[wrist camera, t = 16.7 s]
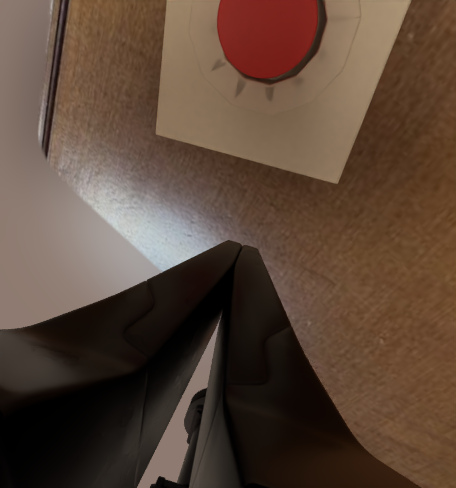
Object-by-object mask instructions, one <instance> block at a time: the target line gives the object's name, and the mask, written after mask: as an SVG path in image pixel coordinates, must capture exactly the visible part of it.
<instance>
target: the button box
mask: <svg viewBox="0 0 456 488" xmlns="http://www.w3.org/2000/svg"><path fill="white" fill-rule="evenodd" d="M410 2H411V0H317V6H318V25H317V31H316V35H315V38H314V41H313V43H312V45H311V48H310V49H309V51H308V53H307V54H306V55H305V57H304V58H303V59H302V60H301V61H300V62H299V63H298V64H297V65H296V66H295V67H294V68H292V69H291V70H290V71H288V72H286V73H284V74H282V75H280V76H277V77H273V78H255V77H252V76H249V75H246V74H244V73H243V72H241V71H240V70H238V69H237V68H236V67H235V66H234V65H233V64H232V63H231V62H230V61H229V60H228V58H227V56H226V55H225V53H224V51H223V49H222V47H221V44H220V41H219V36H218V30H217V15H218V8H219V3H220V0H167V5H166V17H165V28H164V40H163V52H162V63H161V75H160V87H159V99H158V110H157V122H156V135H160V136H163V137H167V138H170V139H174V140H178V141H181V142H185V143H189V144H192V145H196V146H200V147H203V148H207V149H211V150H214V151H218V152H222V153H225V154H229V155H232V156H236V157H240V158H243V159H247V160H251V161H254V162H258V163H262V164H265V165H269V166H273V167H276V168H280V169H283V170H287V171H291V172H294V173H298V174H302V175H305V176H309V177H313V178H316V179H320V180H324V181H327V182H331V183H335V184H337V183H338V182H339V179H340V177H341V174H342V172H343V169H344V167H345V164H346V162H347V159H348V157H349V154H350V152H351V149H352V147H353V144H354V142H355V139H356V137H357V134H358V132H359V129H360V127H361V124H362V122H363V119H364V117H365V114H366V112H367V109H368V107H369V104H370V102H371V100H372V97H373V95H374V92H375V90H376V87H377V85H378V82H379V80H380V77H381V75H382V72H383V70H384V67H385V65H386V62H387V60H388V57H389V55H390V52H391V50H392V47H393V45H394V42H395V40H396V37H397V35H398V32H399V30H400V27H401V25H402V22H403V20H404V17H405V15H406V12H407V10H408V7H409V5H410Z"/></svg>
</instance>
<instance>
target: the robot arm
mask: <svg viewBox="0 0 456 488" xmlns="http://www.w3.org/2000/svg"><path fill="white" fill-rule="evenodd" d="M221 314H222V315H221ZM220 317H221V318H220ZM219 320H220V323H219V327H218V332H217V338H216V343H215V349H214V354H213V359H212V365H211V370H210V376H209V382H208V387H207V392H206V398H205V403H204V405H197V406H196V408H195V412H194V416H193V419H192V423H191V427H190V431H189V435H188V439H187V443H188V444H189V447H188V450H187V453H186V456H185V459H184V462H183V465H182V469H181V472H180V475H179V478H178V481H177V483H175V482H172V481H168V480H166V479H165V478H164V477H161V476H159V477H158V480H157V482H156V484H151V486H150V488H421V487H419V486H418V485H416V484H415V483H413V482H412V481H410V480H409V479H407V478H406V477H404V476H402V475H401V474H399V473H398V472H396V471H395V470H393V469H392V468H390V467H389V466H387V465H385V464H384V463H382V462H381V461H379V460H378V459H376V458H375V457H374V456H372V455H371V454H370V453H369V452H368V451H367V450H366V449H365V448H364V447H363V446H362V445H361V444H360V443H359V442H358V440H357V439H356V438H355V436H354V435H353V434H352V432H351V431H350V429H349V428H348V426H347V425H346V423H345V421H344V420H343V418H342V416H341V415H340V413H339V412H338V410H337V408H336V407H335V405H334V403H333V402H332V400H331V398H330V397H329V395H328V393H327V392H326V390H325V388H324V387H323V385H322V383H321V382H320V380H319V378H318V377H317V375H316V373H315V371H314V370H313V368H312V366H311V364H310V363H309V361H308V359H307V357H306V355H305V354H304V351H303V349H302V347H301V345H300V343H299V341H298V339H297V337H296V335H295V332H294V330H293V328H292V327H291V323H290V321H289V319H288V317H287V314H286V312H285V310H284V308H283V305H282V303H281V301H280V298H279V296H278V294H277V292H276V289H275V287H274V285H273V282H272V280H271V278H270V276H269V273H268V271H267V269H266V267H265V264H264V262H263V260H262V257H261V255H260V253H259V251H258V249H257V248H254V247H251V246H247V245H243V246H242V245H241V244H240V243H237V242H234V241H230V240H227V241H225V242H223V243H221V244H219V245H217V246H215V247H213V248H211V249H209V250H207V251H205V252H203V253H201V254H199V255H197V256H195V257H192V258H190V259H188V260H186V261H184V262H182V263H180V264H178V265H176V266H174V267H172V268H170V269H168V270H166V271H164V272H162V273H160V274H158V275H156V276H154V277H152V278H150V279H148V280H147V281H144V282H142V283H139V284H137V285H135V286H133V287H131V288H129V289H127V290H124V291H122V292H120V293H118V294H116V295H113V296H111V297H108V298H106V299H103V300H100V301H98V302H95V303H93V304H90V305H87V306H84V307H82V308H79V309H76V310H73V311H71V312H68V313H65V314H62V315H60V316H57V317H54V318H52V319H49V320H46V321H43V322H41V323H38V324H34V325H31V326H27V327H23V328H17V329H2V330H0V488H137V486H138V484H139V482H140V480H141V478H142V476H143V474H144V472H145V470H146V468H147V466H148V464H149V462H150V460H151V458H152V456H153V454H154V452H155V450H156V448H157V446H158V444H159V442H160V440H161V438H162V436H163V434H164V432H165V430H166V428H167V426H168V424H169V422H170V419H171V418H172V415H173V413H174V411H175V409H176V407H177V405H178V403H179V401H180V399H181V397H182V395H183V393H184V391H185V389H186V387H187V385H188V383H189V381H190V379H191V377H192V375H193V373H194V371H195V369H196V367H197V365H198V363H199V361H200V359H201V357H202V355H203V353H204V351H205V349H206V347H207V345H208V343H209V341H210V339H211V336H212V335H213V333H214V331H215V329H216V326H217V324H218V322H219Z"/></svg>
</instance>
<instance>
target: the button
mask: <svg viewBox="0 0 456 488" xmlns="http://www.w3.org/2000/svg"><path fill="white" fill-rule="evenodd" d="M317 25H318V6H317V0H220V3H219V8H218V15H217V30H218V36H219V41H220V44H221V47H222V49H223V51H224V53H225V55H226V56H227V58H228V60H229V61H230V62H231V63H232V64H233V65H234V66H235V67H236V68H237V69H238V70H240V71H241V72H243V73H244V74H246V75H249V76H252V77H255V78H273V77H277V76H280V75H282V74H284V73H286V72H288V71H290V70H291V69H292V68H294V67H295V66H296V65H297V64H298V63H299V62H300V61H301V60H302V59H303V58H304V57H305V55H306V54H307V53H308V51H309V49H310V48H311V45H312V43H313V41H314V38H315V35H316V31H317Z"/></svg>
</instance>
